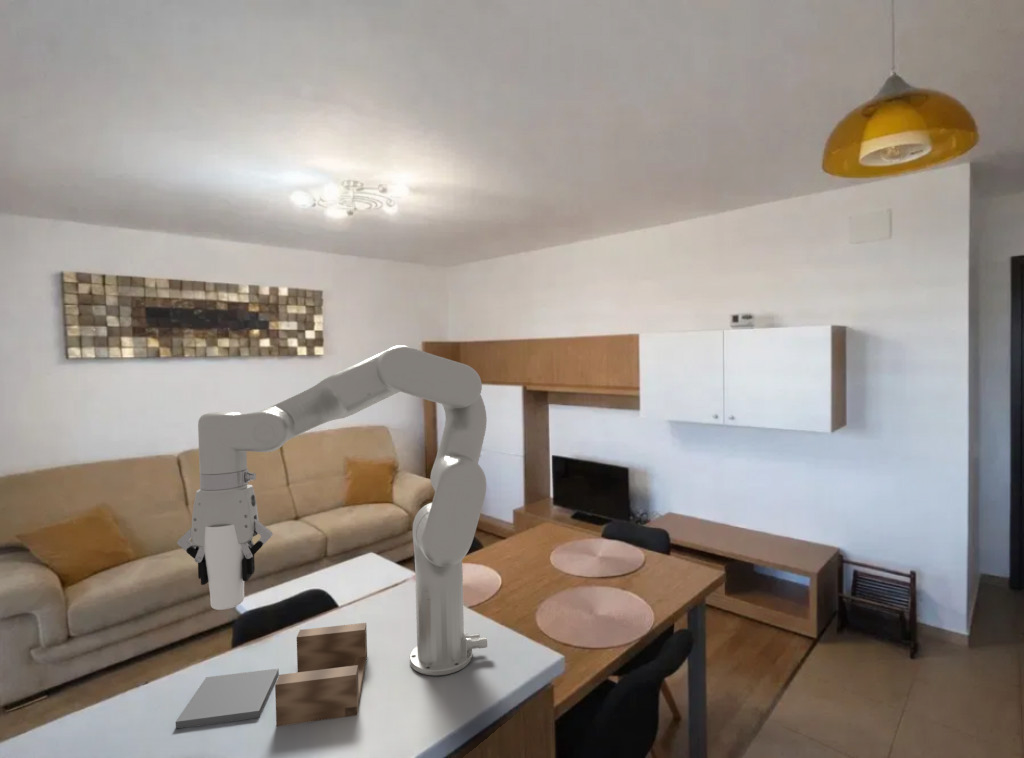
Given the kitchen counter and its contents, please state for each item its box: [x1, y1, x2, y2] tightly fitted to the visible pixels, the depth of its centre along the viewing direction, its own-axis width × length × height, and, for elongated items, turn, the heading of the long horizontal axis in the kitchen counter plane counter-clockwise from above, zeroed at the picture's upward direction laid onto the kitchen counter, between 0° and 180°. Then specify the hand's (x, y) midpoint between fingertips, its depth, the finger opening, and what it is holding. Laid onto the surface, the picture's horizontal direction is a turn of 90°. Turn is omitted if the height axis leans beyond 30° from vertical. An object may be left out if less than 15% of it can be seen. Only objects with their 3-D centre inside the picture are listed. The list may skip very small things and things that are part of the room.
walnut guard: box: [274, 622, 368, 727], centre depth 98 cm, size 13×19×7 cm
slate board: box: [175, 668, 280, 729], centre depth 95 cm, size 13×13×1 cm
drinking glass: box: [204, 525, 245, 611], centre depth 94 cm, size 7×7×15 cm
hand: (227, 579), depth 94 cm, fingers closed on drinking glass, 6 cm apart
